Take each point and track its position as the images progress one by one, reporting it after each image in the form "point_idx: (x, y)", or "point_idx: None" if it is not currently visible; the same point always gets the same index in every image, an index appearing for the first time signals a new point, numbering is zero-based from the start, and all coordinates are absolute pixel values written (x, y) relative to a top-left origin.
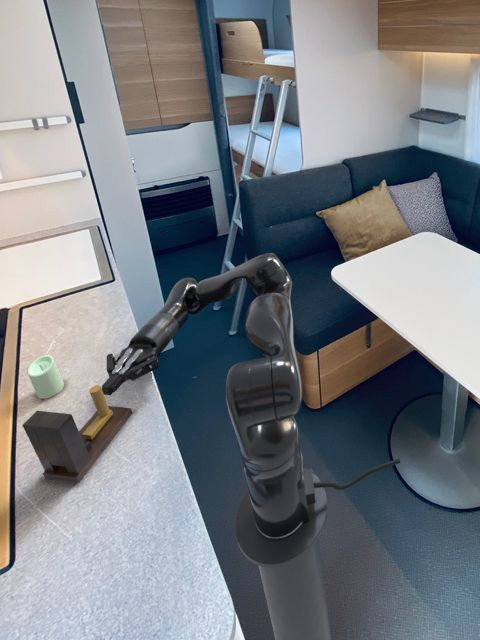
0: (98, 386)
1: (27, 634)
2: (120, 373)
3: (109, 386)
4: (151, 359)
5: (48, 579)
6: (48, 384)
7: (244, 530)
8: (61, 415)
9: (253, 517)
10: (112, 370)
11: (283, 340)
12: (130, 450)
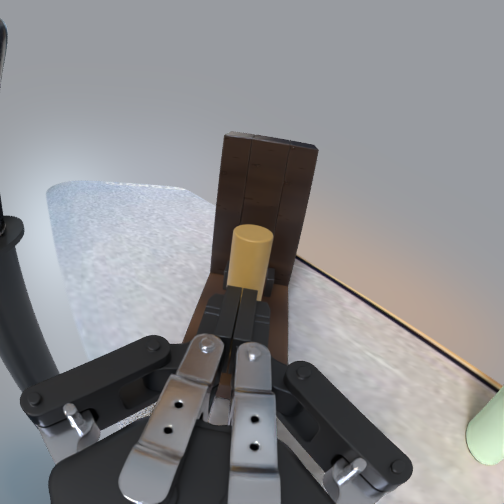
0: (246, 236)
1: (186, 196)
2: (210, 338)
3: (226, 290)
4: (50, 398)
5: (190, 211)
6: (494, 400)
7: (15, 230)
8: (245, 136)
9: (4, 235)
10: (283, 378)
11: None
12: (140, 297)
